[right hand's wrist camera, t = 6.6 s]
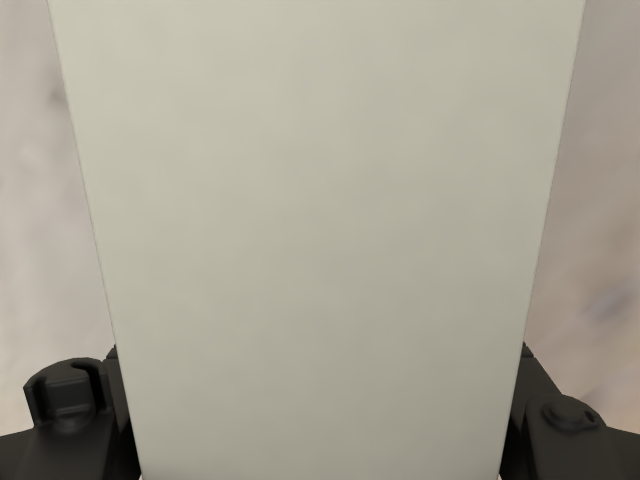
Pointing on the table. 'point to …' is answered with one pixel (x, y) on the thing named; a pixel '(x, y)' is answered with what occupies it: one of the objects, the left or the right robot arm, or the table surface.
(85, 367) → the right robot arm
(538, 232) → the post
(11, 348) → the table surface
